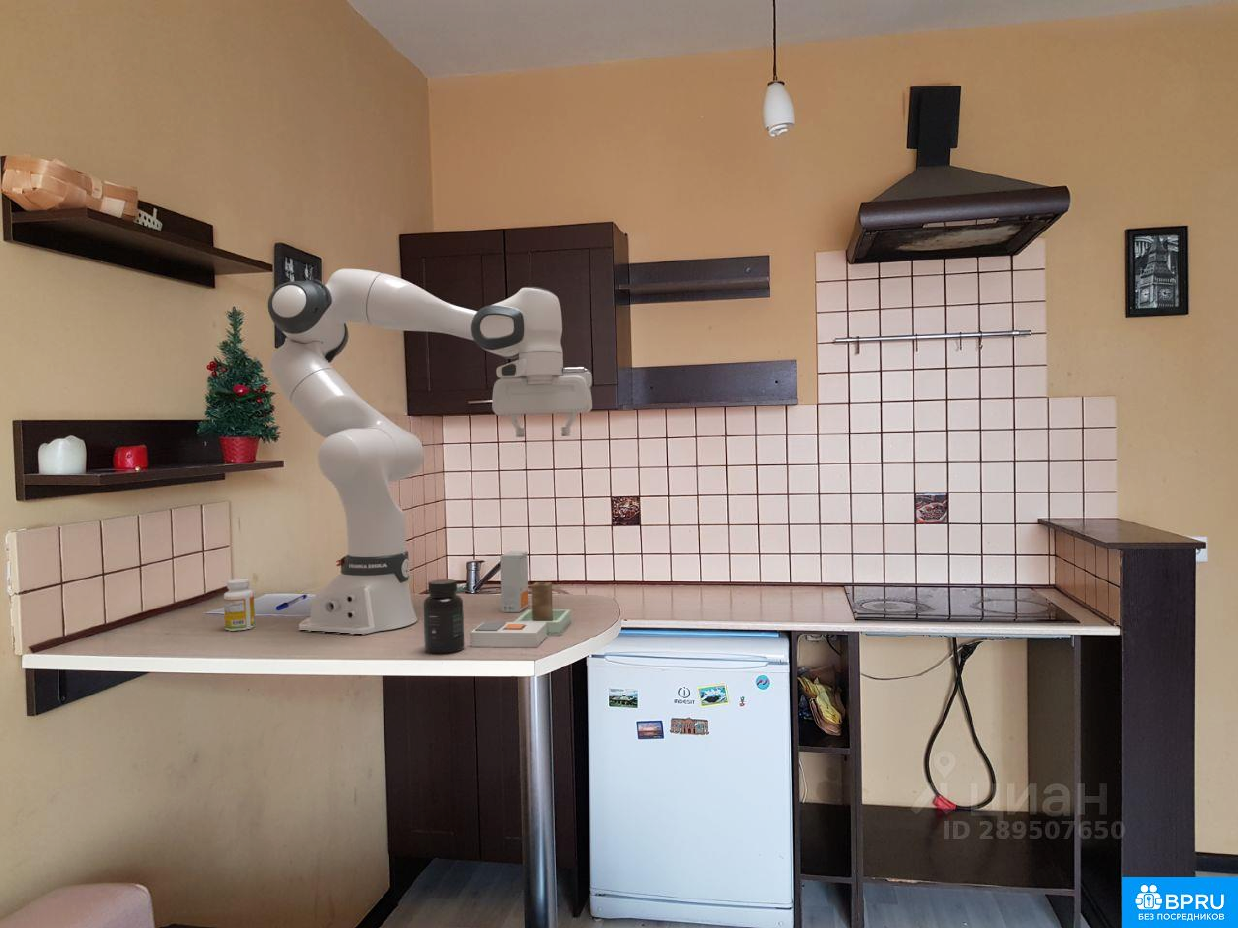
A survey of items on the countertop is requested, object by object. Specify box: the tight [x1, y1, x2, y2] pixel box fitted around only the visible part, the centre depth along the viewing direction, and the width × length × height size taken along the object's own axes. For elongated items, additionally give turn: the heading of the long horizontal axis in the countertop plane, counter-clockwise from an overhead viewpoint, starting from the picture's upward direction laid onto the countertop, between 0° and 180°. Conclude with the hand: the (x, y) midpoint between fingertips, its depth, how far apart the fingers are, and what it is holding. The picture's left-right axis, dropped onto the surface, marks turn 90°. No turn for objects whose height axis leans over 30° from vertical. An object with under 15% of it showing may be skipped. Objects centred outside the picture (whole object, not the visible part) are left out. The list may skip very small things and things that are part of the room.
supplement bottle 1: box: [223, 578, 256, 632], centre depth 163 cm, size 5×5×10 cm
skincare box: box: [500, 550, 529, 613], centre depth 174 cm, size 6×4×12 cm
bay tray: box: [513, 608, 572, 637], centre depth 157 cm, size 9×11×2 cm
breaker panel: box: [469, 621, 548, 648], centre depth 148 cm, size 12×8×3 cm, turn 82°
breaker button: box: [504, 624, 525, 630], centre depth 148 cm, size 3×3×2 cm
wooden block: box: [531, 581, 554, 621], centre depth 157 cm, size 3×3×8 cm
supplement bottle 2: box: [422, 578, 465, 655], centre depth 143 cm, size 7×7×12 cm
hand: (543, 436), depth 168 cm, fingers open, 8 cm apart
